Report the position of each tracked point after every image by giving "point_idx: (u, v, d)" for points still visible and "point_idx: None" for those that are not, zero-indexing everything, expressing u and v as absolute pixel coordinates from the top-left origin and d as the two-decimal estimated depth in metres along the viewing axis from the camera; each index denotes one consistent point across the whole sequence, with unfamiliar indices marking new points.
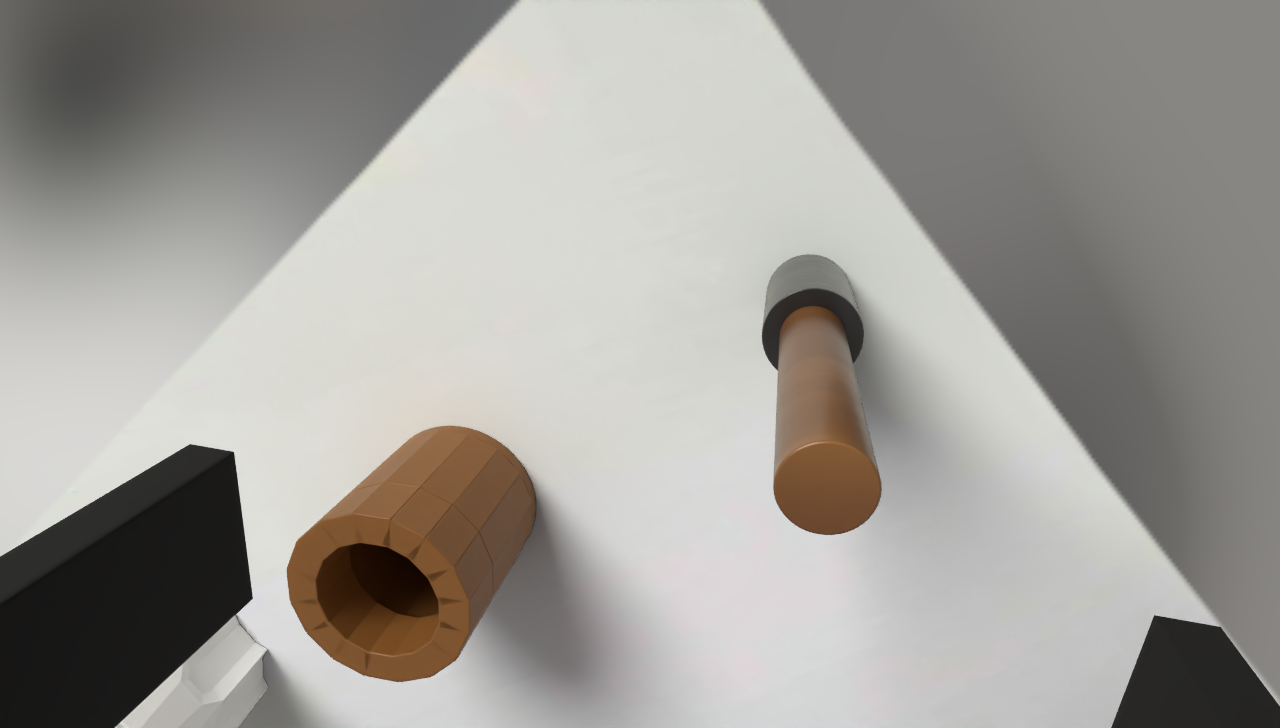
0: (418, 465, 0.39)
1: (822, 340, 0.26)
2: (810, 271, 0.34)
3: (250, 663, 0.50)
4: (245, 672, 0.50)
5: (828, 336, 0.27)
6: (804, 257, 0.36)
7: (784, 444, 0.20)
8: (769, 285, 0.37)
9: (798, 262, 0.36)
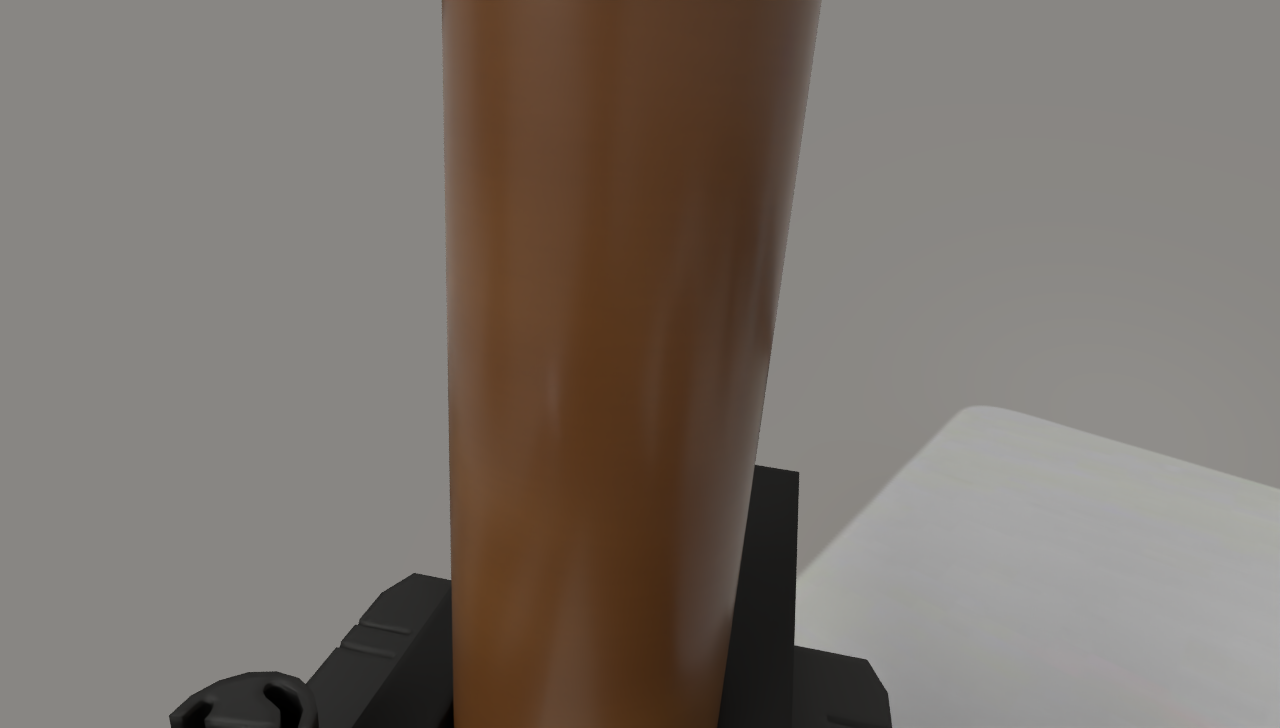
0: None
1: None
2: None
3: None
4: None
5: None
6: None
7: None
8: None
9: None
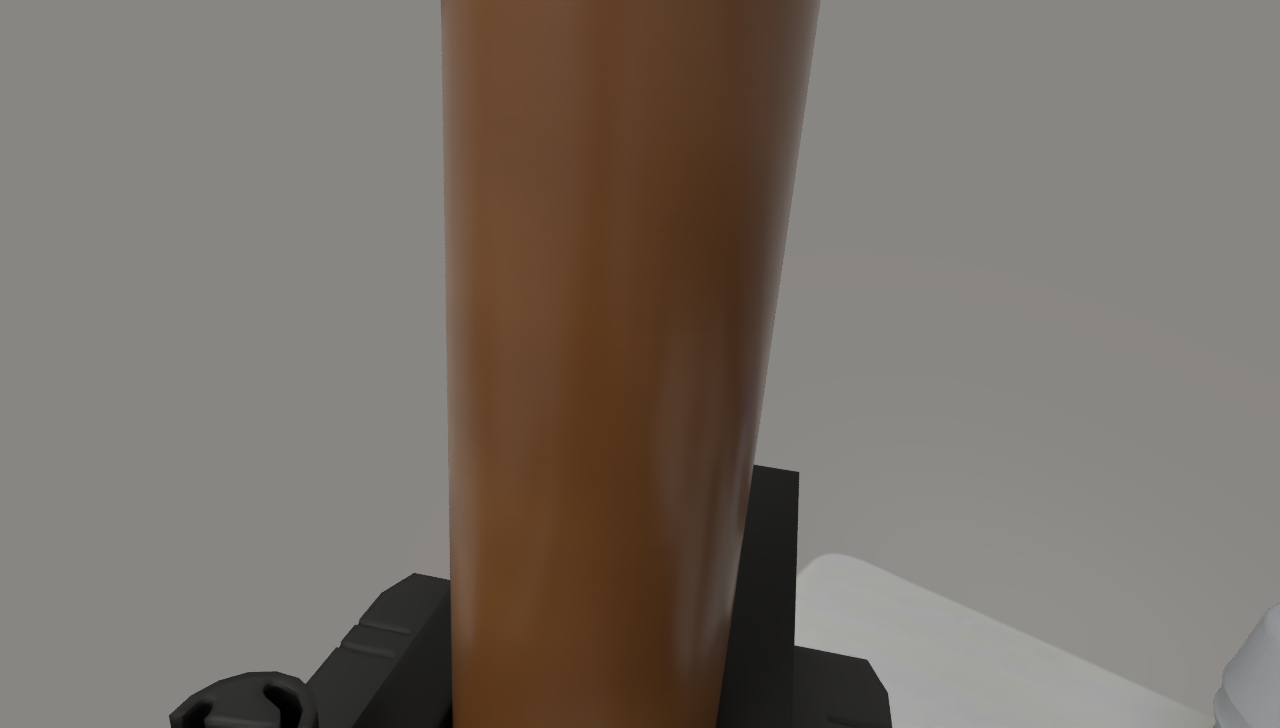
0: None
1: None
2: None
3: None
4: None
5: None
6: None
7: None
8: None
9: None
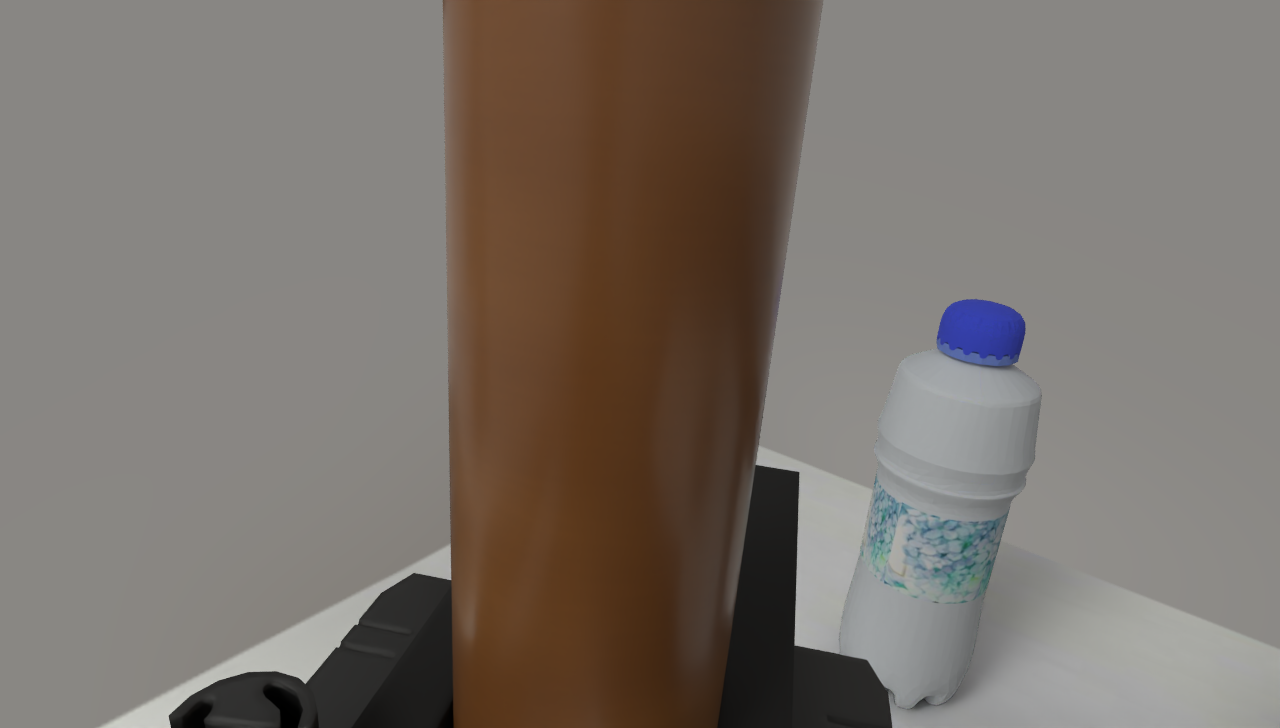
0: None
1: None
2: None
3: None
4: None
5: None
6: None
7: None
8: None
9: None
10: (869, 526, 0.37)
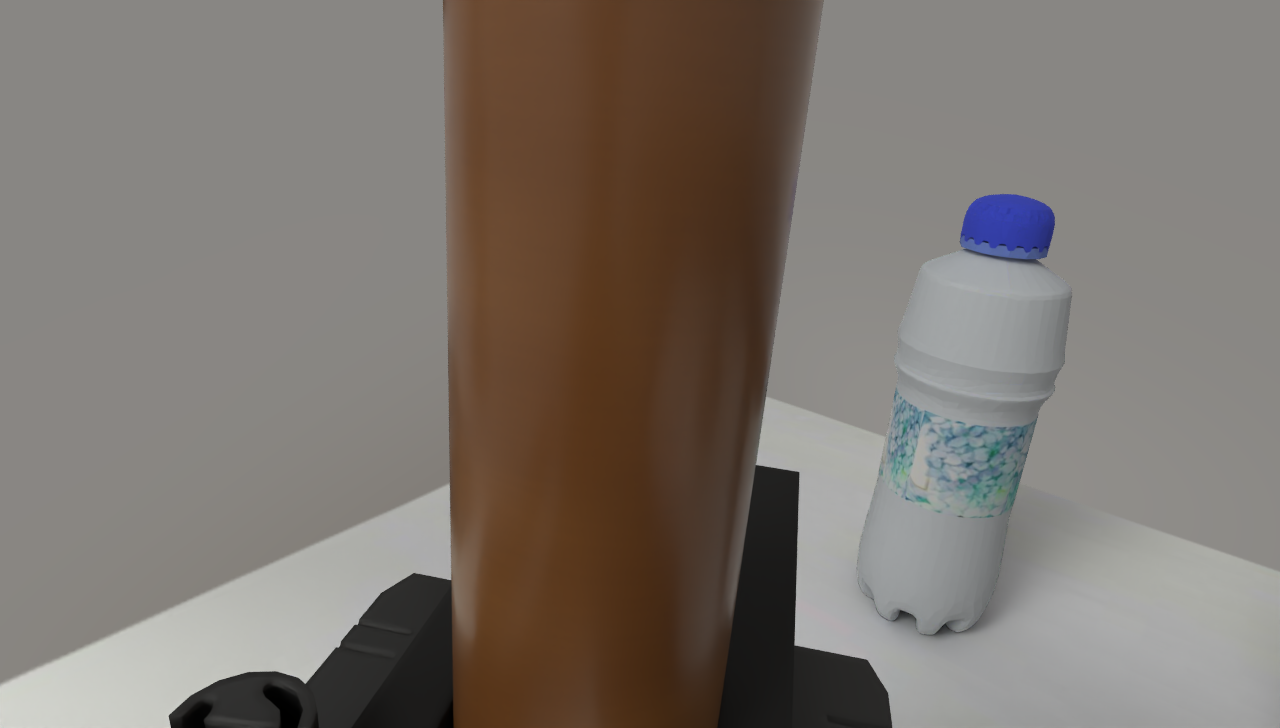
0: None
1: None
2: None
3: None
4: None
5: None
6: None
7: None
8: None
9: None
10: (889, 442, 0.35)
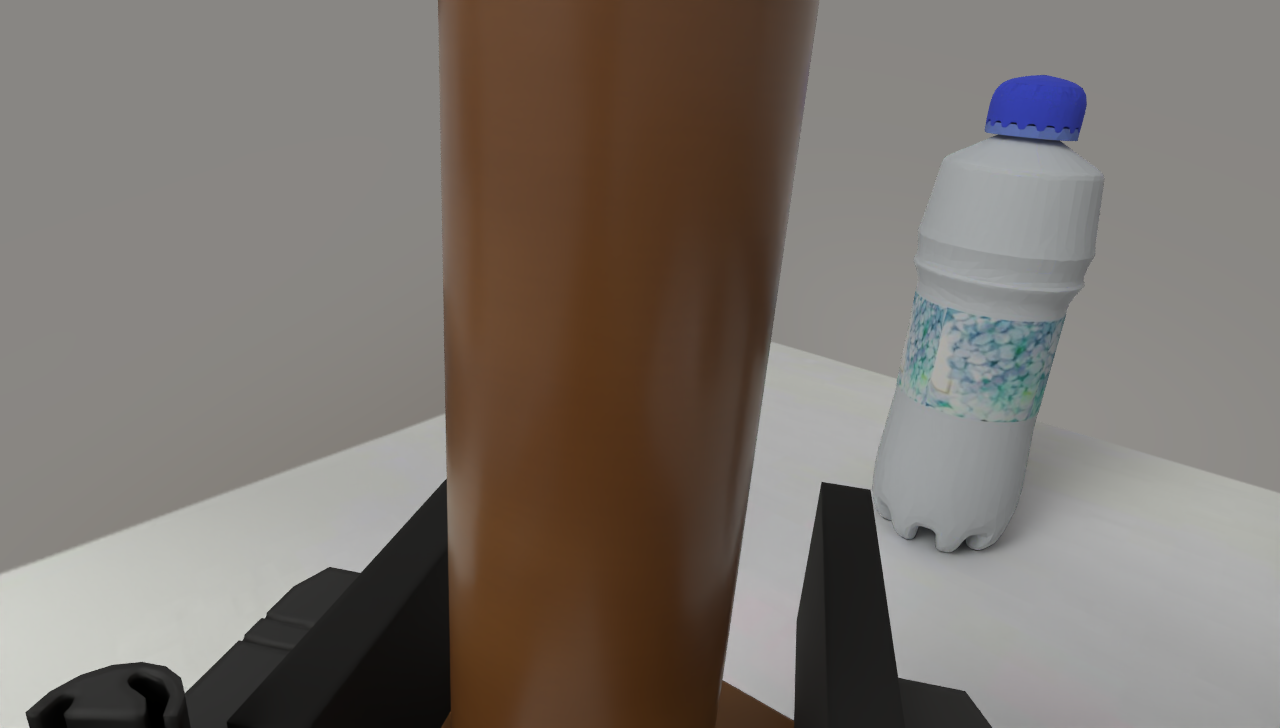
0: None
1: None
2: None
3: None
4: None
5: None
6: None
7: None
8: None
9: None
10: (908, 348, 0.34)
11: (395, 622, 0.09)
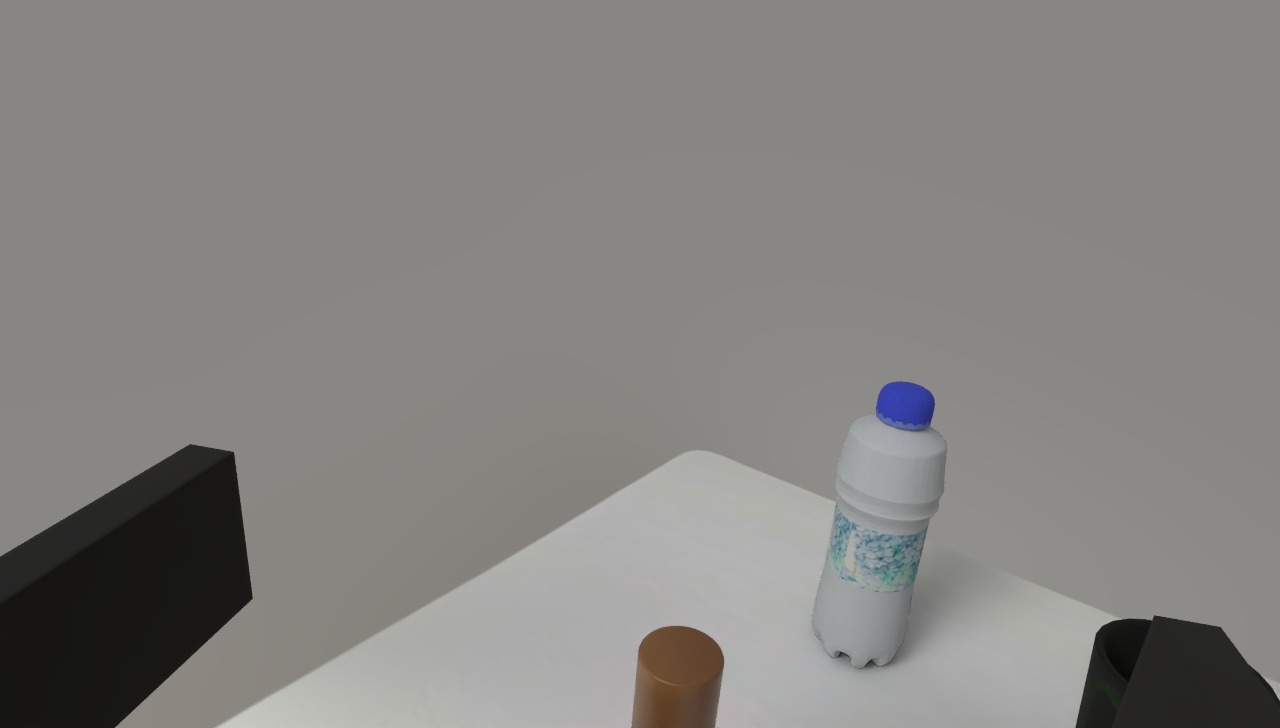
0: None
1: None
2: None
3: None
4: None
5: None
6: None
7: (663, 706, 0.23)
8: None
9: None
10: (832, 538, 0.52)
11: None
